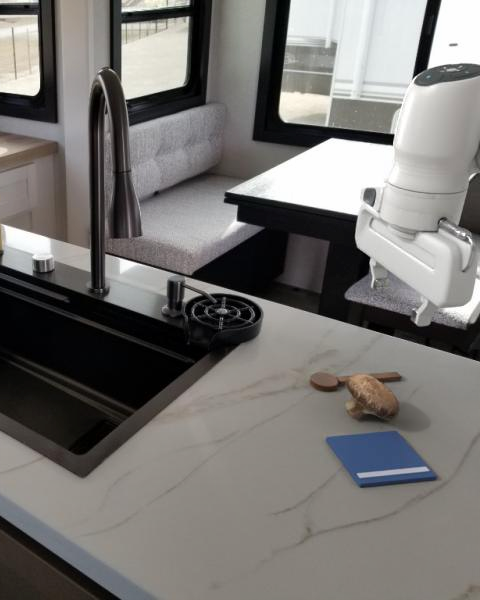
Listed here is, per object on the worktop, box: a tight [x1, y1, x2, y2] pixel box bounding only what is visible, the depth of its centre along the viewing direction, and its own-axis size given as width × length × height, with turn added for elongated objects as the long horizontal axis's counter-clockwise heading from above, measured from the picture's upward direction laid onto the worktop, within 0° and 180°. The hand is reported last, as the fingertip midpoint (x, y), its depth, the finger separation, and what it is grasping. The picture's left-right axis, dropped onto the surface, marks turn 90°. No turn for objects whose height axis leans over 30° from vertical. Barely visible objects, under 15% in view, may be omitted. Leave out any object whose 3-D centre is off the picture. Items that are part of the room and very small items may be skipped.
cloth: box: [325, 430, 438, 488], centre depth 82 cm, size 10×9×1 cm
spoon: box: [309, 371, 402, 393], centre depth 98 cm, size 14×4×1 cm, turn 97°
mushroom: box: [344, 373, 400, 422], centre depth 90 cm, size 8×8×6 cm
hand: (398, 306), depth 84 cm, fingers open, 8 cm apart
